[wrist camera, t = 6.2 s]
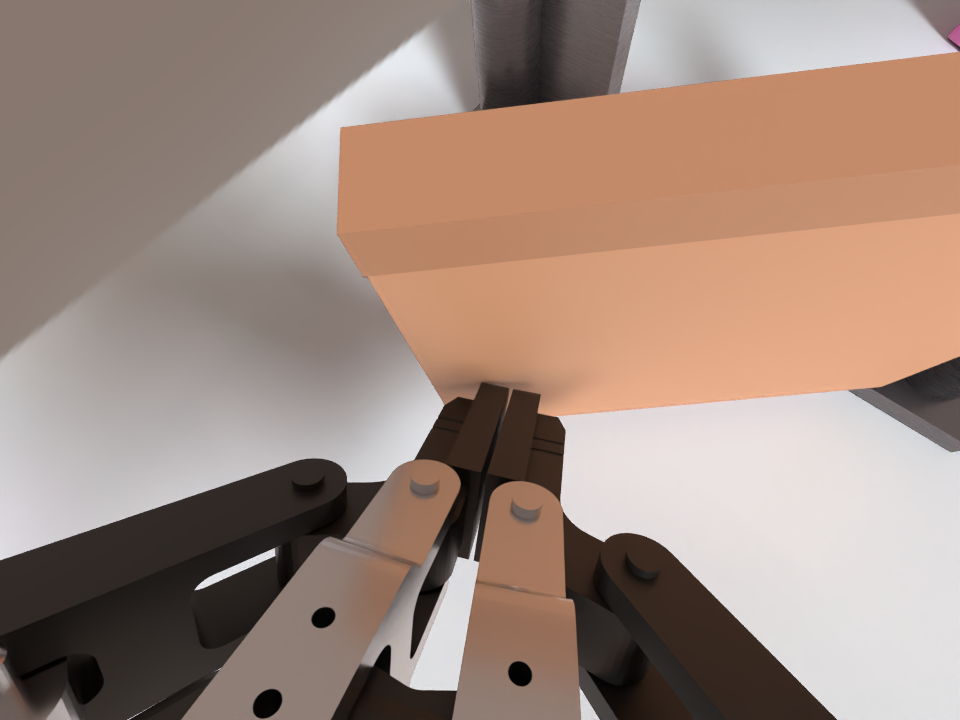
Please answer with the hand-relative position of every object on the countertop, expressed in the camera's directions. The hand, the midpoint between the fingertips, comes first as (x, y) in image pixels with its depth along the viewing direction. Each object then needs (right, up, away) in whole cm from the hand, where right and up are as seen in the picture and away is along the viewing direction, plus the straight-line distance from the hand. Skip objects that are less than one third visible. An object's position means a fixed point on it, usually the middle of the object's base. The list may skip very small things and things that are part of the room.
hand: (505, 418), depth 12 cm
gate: (+5, +1, +4) cm, 7 cm away
